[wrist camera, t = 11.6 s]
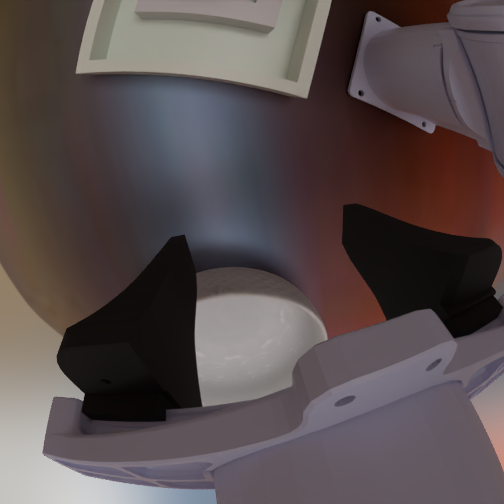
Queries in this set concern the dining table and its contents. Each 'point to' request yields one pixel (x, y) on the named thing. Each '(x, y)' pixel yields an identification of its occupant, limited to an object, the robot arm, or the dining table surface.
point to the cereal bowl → (250, 333)
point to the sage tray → (208, 41)
